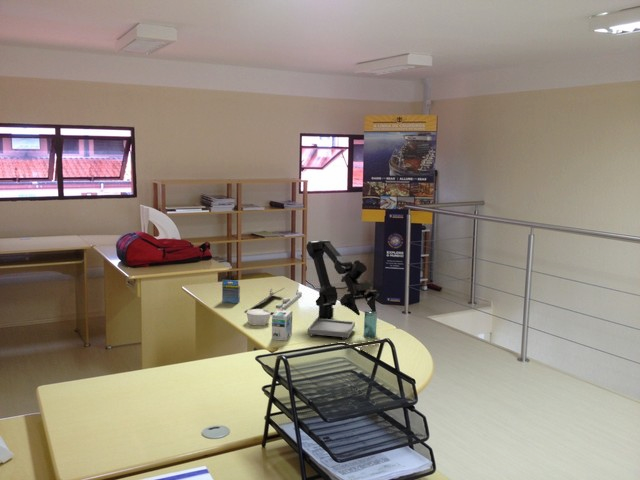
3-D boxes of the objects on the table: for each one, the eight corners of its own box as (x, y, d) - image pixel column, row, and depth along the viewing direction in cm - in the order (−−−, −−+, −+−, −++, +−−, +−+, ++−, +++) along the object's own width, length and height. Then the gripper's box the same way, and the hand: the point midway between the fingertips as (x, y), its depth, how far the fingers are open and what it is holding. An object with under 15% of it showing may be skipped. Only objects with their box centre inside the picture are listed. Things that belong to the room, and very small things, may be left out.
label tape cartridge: (240, 301, 319) (240, 278, 318) (238, 303, 315) (238, 280, 314) (223, 300, 320) (224, 278, 318) (221, 302, 316) (222, 279, 315)
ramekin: (275, 323, 281) (275, 312, 280) (255, 327, 274) (255, 316, 273) (261, 318, 289) (261, 307, 289) (241, 321, 282) (242, 310, 281)
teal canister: (362, 337, 265) (363, 313, 263) (364, 333, 270) (365, 309, 268) (375, 338, 263) (376, 314, 262) (376, 334, 269) (378, 311, 267)
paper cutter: (301, 296, 337) (302, 286, 336) (277, 316, 294) (277, 305, 293) (271, 293, 341) (271, 284, 341) (242, 313, 298) (242, 302, 298)
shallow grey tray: (307, 337, 261) (307, 329, 261) (316, 326, 279) (316, 318, 278) (348, 341, 258) (348, 333, 257) (354, 329, 275) (354, 321, 275)
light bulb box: (286, 340, 256) (286, 316, 254) (271, 339, 257) (271, 315, 256) (292, 333, 266) (293, 310, 265) (277, 332, 268) (278, 308, 266)
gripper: (344, 276, 264) (359, 306, 257) (377, 273, 275) (392, 301, 267) (333, 290, 271) (347, 319, 264) (365, 286, 282) (379, 314, 275)
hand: (367, 313), depth 267 cm, fingers open, 9 cm apart
